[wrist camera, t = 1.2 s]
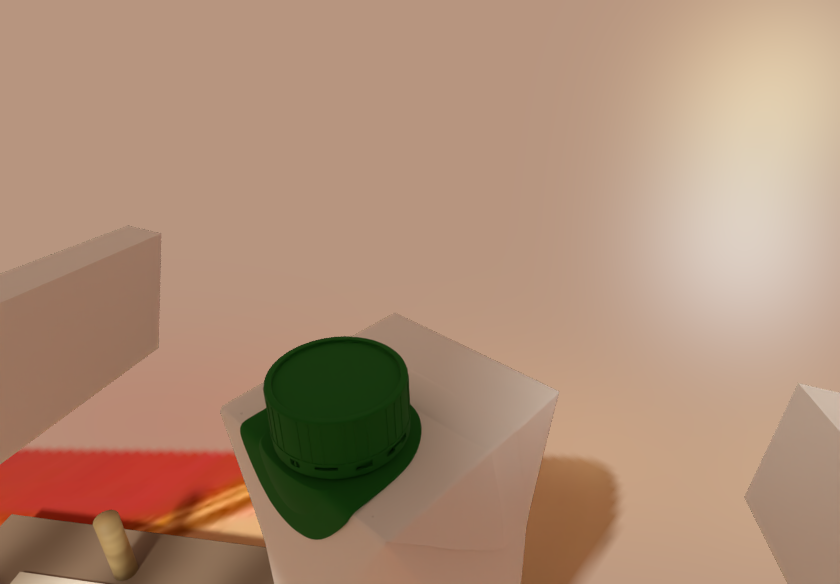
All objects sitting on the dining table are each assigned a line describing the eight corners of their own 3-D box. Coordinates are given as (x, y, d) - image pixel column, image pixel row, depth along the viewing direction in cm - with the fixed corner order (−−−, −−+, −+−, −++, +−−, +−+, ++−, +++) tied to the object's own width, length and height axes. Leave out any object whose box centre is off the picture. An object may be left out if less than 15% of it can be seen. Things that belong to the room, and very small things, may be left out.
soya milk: (271, 713, 28) (177, 351, 18) (408, 580, 33) (394, 251, 24) (410, 889, 22) (385, 511, 13) (545, 695, 28) (599, 332, 18)
